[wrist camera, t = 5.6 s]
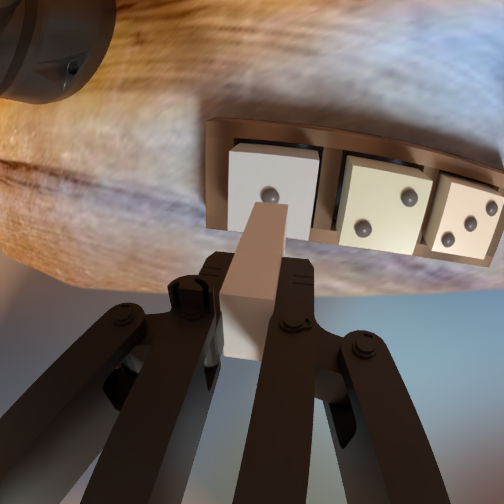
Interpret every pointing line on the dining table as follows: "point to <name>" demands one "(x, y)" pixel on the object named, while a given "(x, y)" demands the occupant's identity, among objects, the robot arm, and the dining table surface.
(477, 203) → the tile three
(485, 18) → the dining table surface
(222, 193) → the tile tray
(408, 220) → the tile two
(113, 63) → the dining table surface
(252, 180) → the tile one
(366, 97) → the dining table surface
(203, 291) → the robot arm
